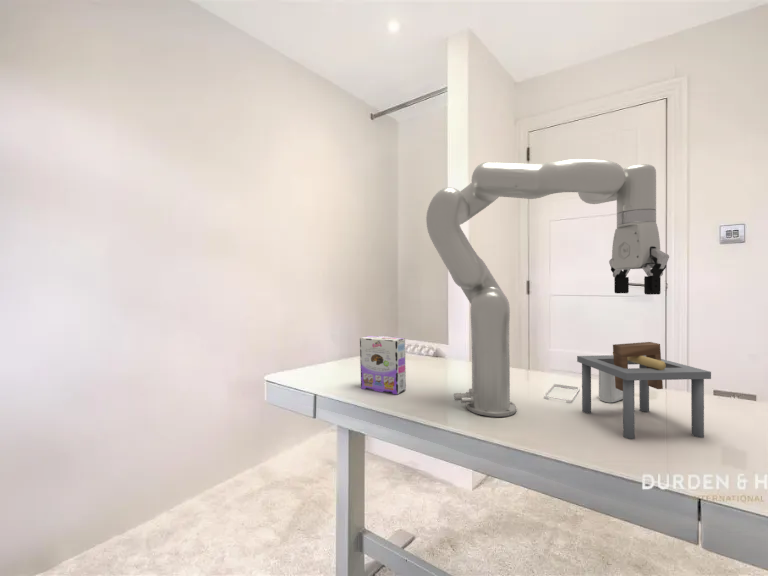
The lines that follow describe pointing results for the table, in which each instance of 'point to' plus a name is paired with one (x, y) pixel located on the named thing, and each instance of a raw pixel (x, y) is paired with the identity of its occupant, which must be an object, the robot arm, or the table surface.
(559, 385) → the phone case
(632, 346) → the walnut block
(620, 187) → the robot arm
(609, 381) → the photo printer
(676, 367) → the grey open-frame table
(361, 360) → the candy box
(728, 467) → the table surface
